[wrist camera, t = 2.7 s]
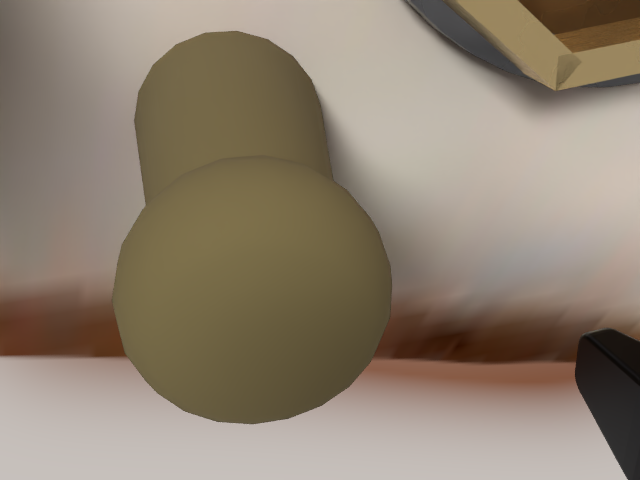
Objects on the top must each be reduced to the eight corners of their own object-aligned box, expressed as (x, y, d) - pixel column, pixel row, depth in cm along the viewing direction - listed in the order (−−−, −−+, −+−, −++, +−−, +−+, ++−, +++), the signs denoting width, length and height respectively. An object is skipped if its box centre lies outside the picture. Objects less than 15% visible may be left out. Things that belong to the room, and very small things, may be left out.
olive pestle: (309, 212, 21) (399, 463, 12) (136, 205, 20) (84, 485, 10) (334, 41, 18) (480, 198, 9) (132, 19, 17) (53, 178, 7)
